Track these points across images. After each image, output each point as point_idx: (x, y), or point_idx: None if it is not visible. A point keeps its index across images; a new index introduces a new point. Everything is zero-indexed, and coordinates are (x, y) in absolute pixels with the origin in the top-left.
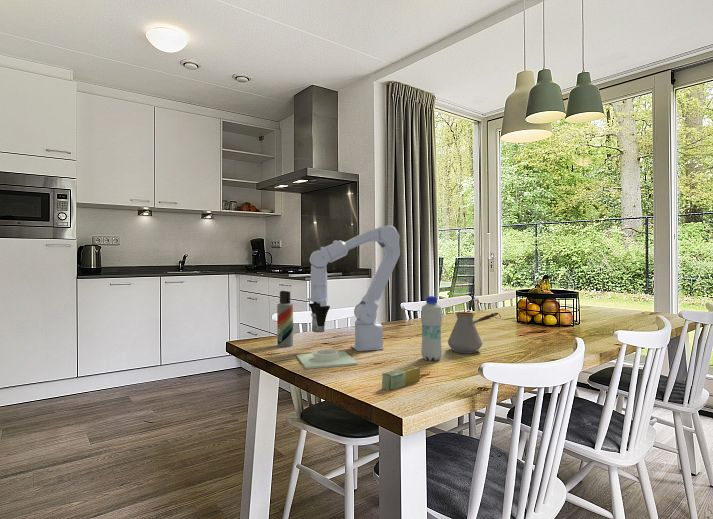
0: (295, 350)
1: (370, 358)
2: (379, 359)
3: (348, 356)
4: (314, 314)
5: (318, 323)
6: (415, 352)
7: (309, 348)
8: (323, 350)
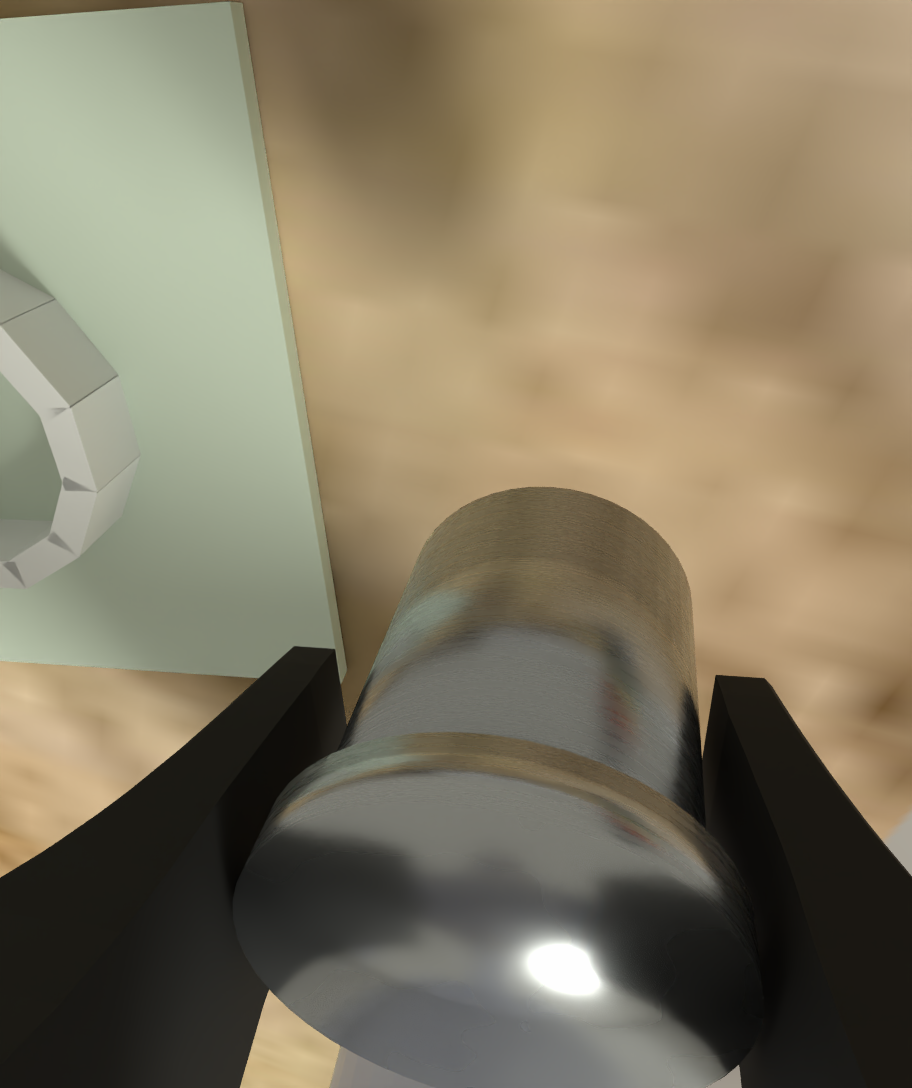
0: (731, 47)
1: (92, 787)
2: (57, 825)
3: (83, 650)
4: (342, 849)
5: (251, 698)
6: (261, 1059)
7: (777, 339)
8: (51, 442)
